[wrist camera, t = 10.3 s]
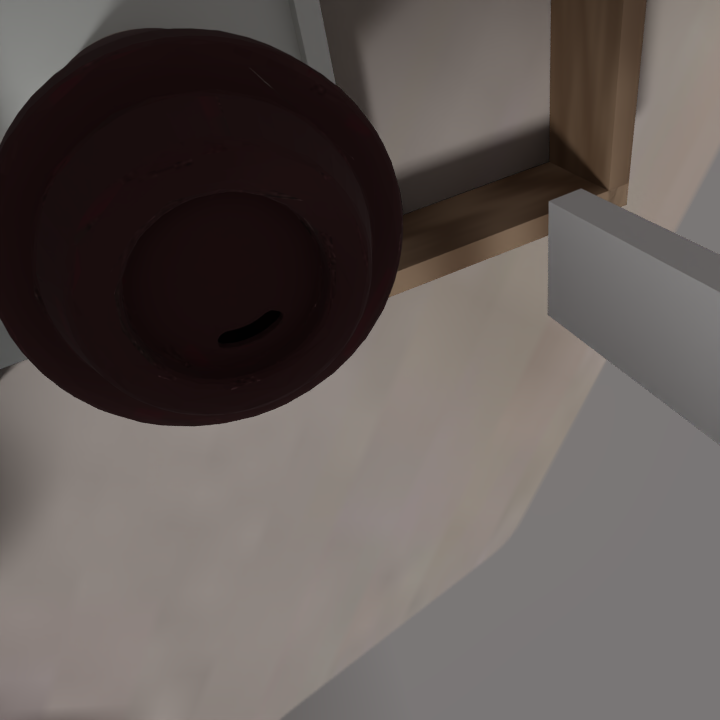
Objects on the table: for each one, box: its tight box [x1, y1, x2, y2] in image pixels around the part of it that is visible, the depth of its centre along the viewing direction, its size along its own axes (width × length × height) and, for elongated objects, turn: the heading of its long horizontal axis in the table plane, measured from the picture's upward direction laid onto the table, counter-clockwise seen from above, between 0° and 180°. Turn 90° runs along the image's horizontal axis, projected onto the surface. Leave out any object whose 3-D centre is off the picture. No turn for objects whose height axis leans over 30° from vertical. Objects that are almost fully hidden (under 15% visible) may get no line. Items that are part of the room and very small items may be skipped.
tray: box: [0, 0, 336, 369], centre depth 22 cm, size 21×19×9 cm
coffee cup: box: [0, 28, 403, 426], centre depth 19 cm, size 10×10×15 cm
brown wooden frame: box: [389, 0, 647, 297], centre depth 26 cm, size 20×19×5 cm
